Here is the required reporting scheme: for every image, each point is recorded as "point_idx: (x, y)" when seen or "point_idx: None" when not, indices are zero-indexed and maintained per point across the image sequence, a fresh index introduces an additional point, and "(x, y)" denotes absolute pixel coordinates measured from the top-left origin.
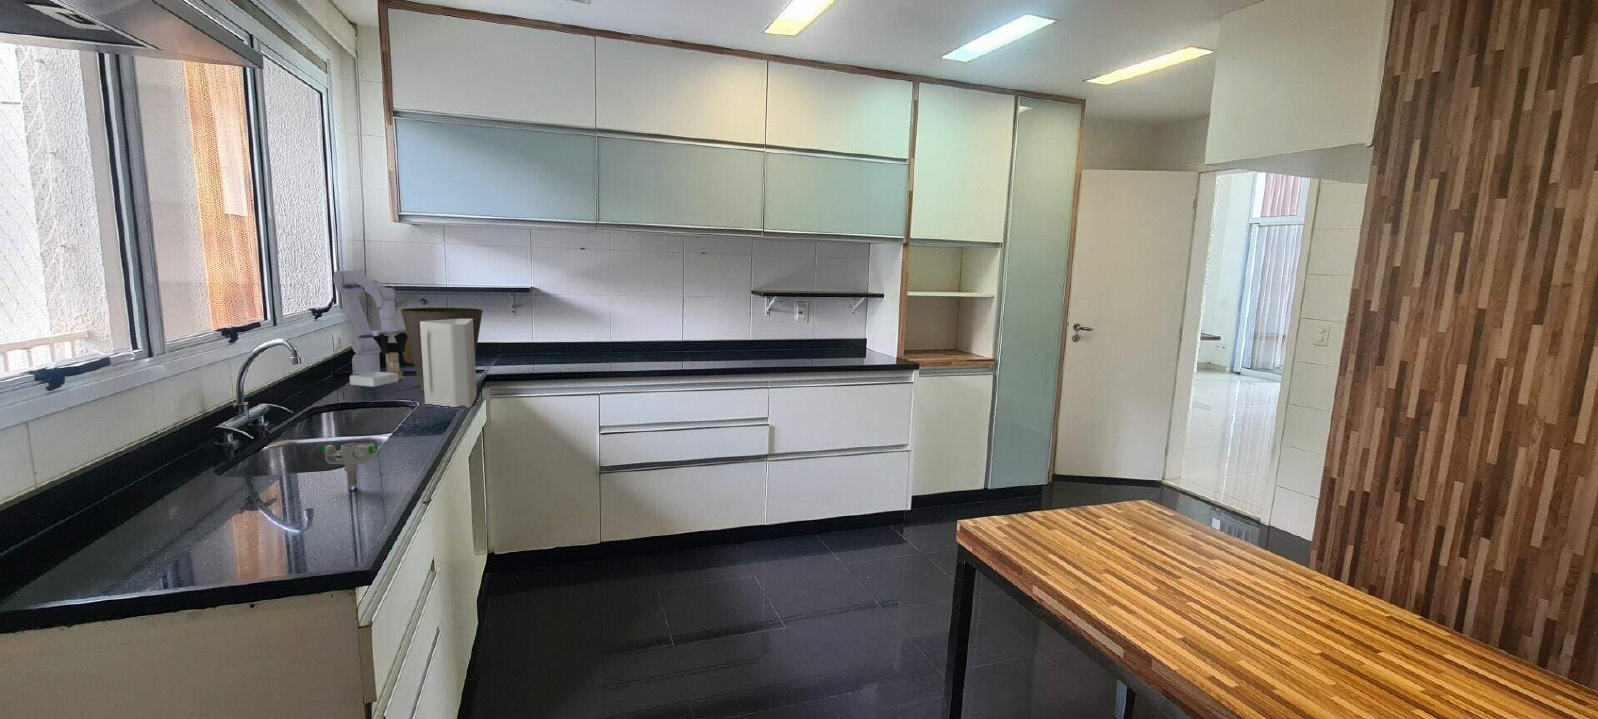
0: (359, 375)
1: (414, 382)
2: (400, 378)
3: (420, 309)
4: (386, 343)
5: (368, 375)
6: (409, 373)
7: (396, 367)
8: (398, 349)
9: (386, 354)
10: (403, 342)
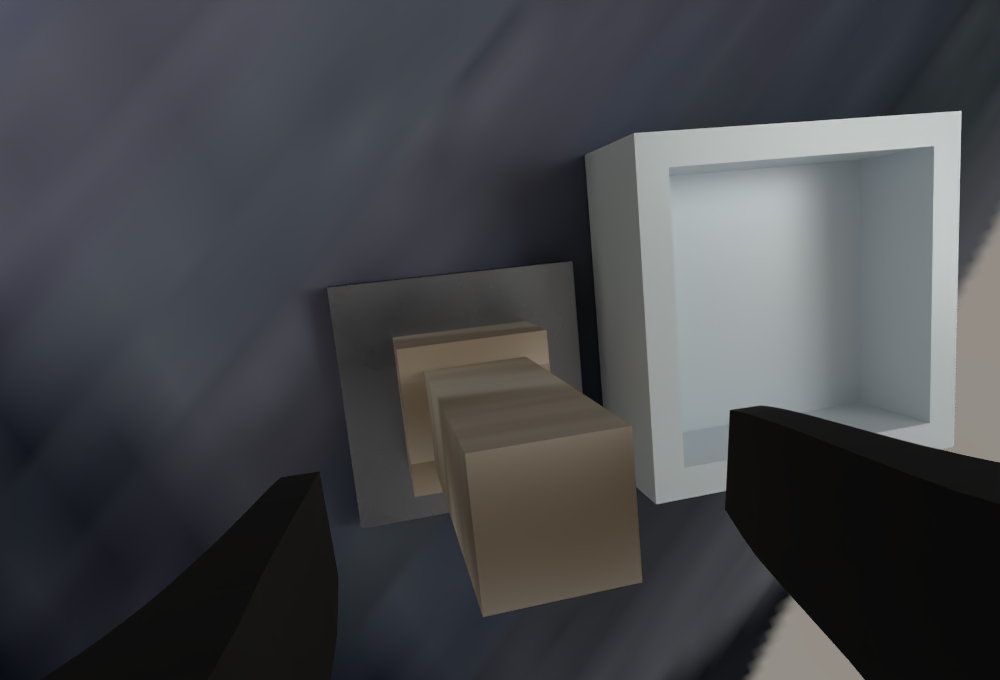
0: (866, 430)
1: (459, 51)
2: (454, 298)
3: None
4: (988, 472)
5: None
6: (66, 626)
7: (478, 376)
8: (334, 637)
9: (632, 549)
10: (251, 608)
